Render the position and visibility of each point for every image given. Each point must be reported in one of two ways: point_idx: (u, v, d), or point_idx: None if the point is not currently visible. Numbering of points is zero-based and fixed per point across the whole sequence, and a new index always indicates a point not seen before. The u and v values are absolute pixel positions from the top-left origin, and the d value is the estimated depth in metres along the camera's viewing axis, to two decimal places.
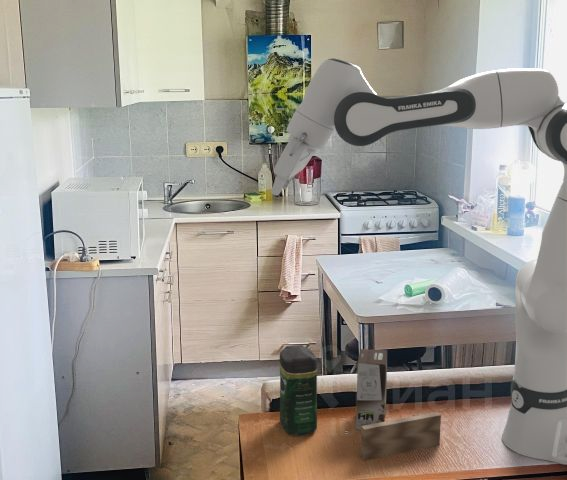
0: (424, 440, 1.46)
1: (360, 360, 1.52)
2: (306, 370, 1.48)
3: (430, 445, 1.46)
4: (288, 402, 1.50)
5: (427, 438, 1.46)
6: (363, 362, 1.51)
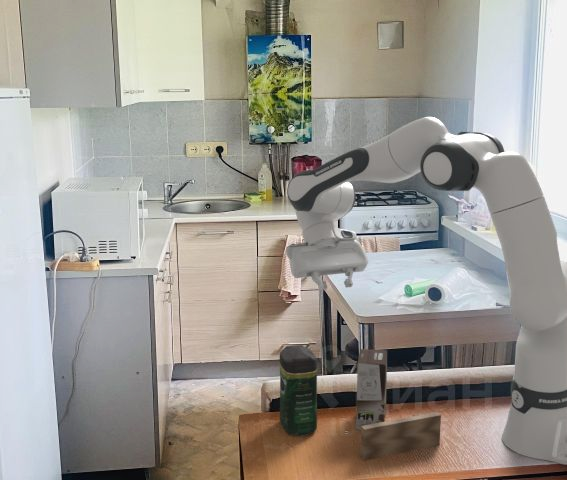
0: (424, 440, 1.46)
1: (360, 360, 1.52)
2: (306, 370, 1.48)
3: (430, 445, 1.46)
4: (288, 402, 1.50)
5: (427, 438, 1.46)
6: (363, 362, 1.51)
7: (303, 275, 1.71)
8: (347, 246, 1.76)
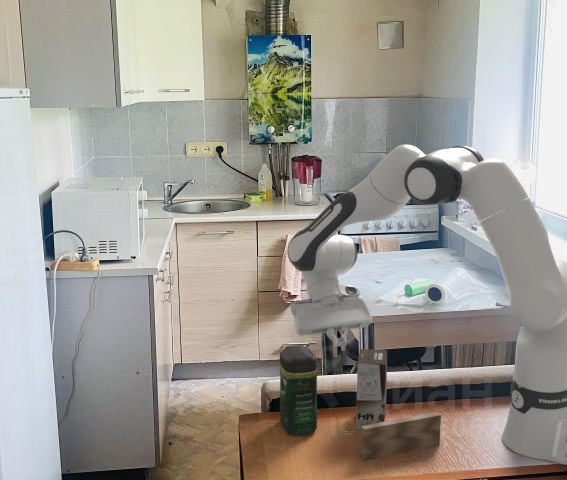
0: (424, 440, 1.46)
1: (360, 360, 1.52)
2: (306, 370, 1.48)
3: (430, 445, 1.46)
4: (288, 402, 1.50)
5: (427, 438, 1.46)
6: (363, 362, 1.51)
7: (308, 333, 1.72)
8: (351, 302, 1.77)
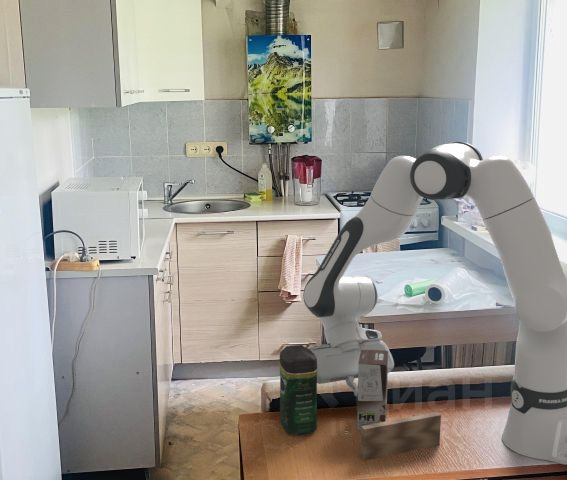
0: (424, 440, 1.46)
1: (361, 361, 1.52)
2: (306, 370, 1.48)
3: (430, 445, 1.46)
4: (288, 402, 1.50)
5: (427, 438, 1.46)
6: (364, 363, 1.51)
7: (326, 381, 1.62)
8: (372, 348, 1.67)
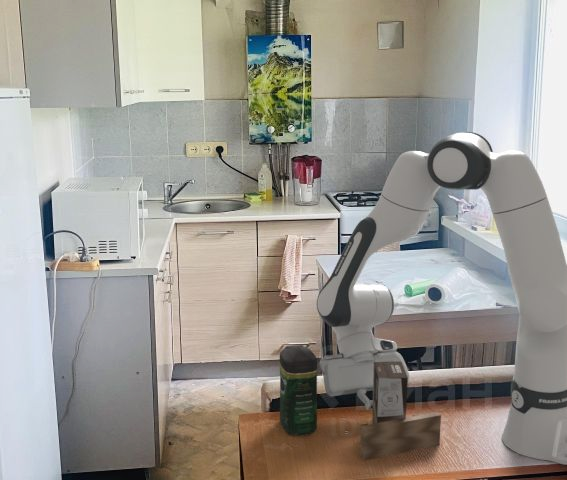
0: (424, 440, 1.46)
1: (380, 375, 1.44)
2: (306, 370, 1.48)
3: (430, 445, 1.46)
4: (288, 402, 1.50)
5: (427, 438, 1.46)
6: (384, 376, 1.43)
7: (338, 394, 1.55)
8: (387, 359, 1.60)
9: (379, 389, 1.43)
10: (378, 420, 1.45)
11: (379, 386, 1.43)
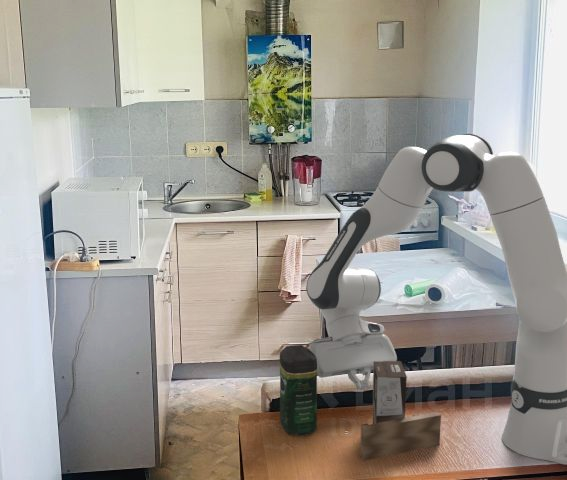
0: (424, 440, 1.46)
1: (379, 374, 1.45)
2: (306, 370, 1.48)
3: (430, 445, 1.46)
4: (288, 402, 1.50)
5: (427, 438, 1.46)
6: (383, 376, 1.44)
7: (328, 375, 1.60)
8: (375, 341, 1.65)
9: (378, 388, 1.44)
10: (377, 419, 1.45)
11: (378, 385, 1.44)
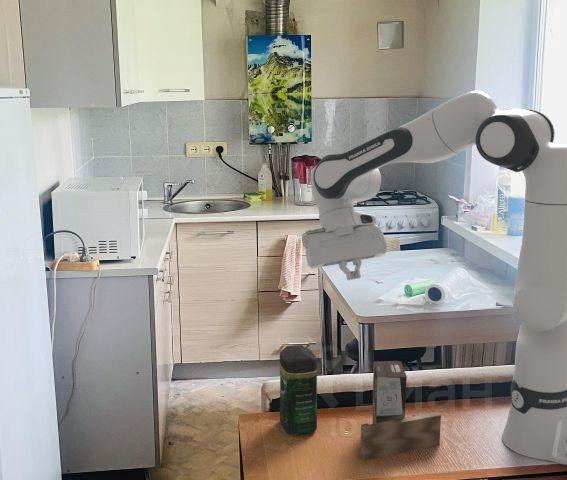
0: (424, 440, 1.46)
1: (379, 374, 1.45)
2: (306, 370, 1.48)
3: (430, 445, 1.46)
4: (288, 402, 1.50)
5: (427, 438, 1.46)
6: (383, 376, 1.44)
7: (319, 266, 1.64)
8: (366, 232, 1.67)
9: (378, 388, 1.44)
10: (377, 419, 1.45)
11: (378, 385, 1.44)
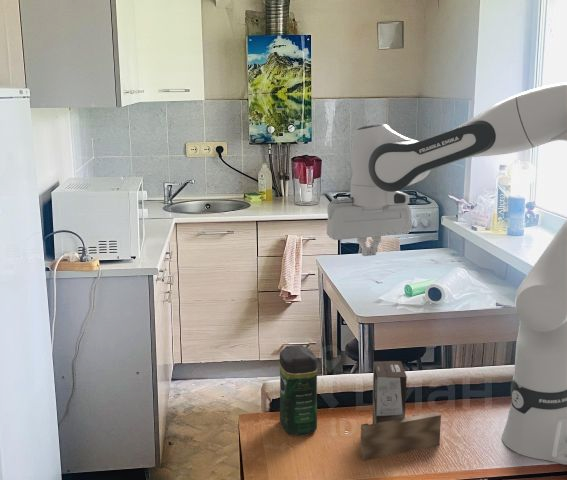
0: (424, 440, 1.46)
1: (379, 374, 1.45)
2: (306, 370, 1.48)
3: (430, 445, 1.46)
4: (288, 402, 1.50)
5: (427, 438, 1.46)
6: (383, 376, 1.44)
7: None
8: (395, 210, 1.57)
9: (378, 388, 1.44)
10: (377, 419, 1.45)
11: (378, 385, 1.44)
